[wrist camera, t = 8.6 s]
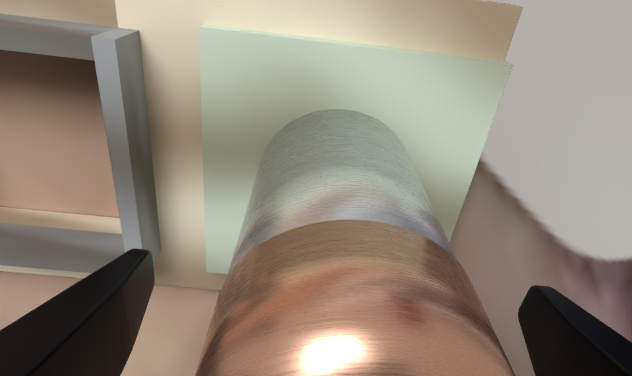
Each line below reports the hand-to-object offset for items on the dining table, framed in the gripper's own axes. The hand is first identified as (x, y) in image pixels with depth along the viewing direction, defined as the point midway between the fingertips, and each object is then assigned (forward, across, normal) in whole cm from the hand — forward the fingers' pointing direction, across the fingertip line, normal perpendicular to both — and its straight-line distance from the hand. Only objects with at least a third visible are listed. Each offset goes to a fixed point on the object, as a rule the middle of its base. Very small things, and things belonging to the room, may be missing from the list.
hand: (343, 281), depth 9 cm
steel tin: (+5, 0, 0) cm, 5 cm away
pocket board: (+6, +6, 0) cm, 8 cm away
